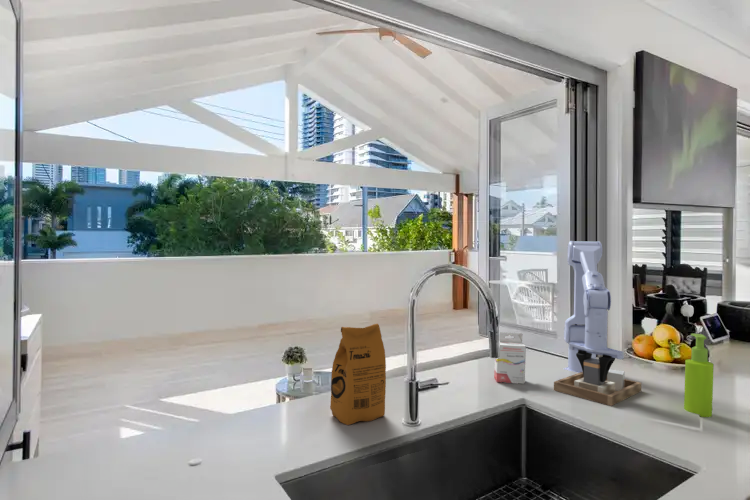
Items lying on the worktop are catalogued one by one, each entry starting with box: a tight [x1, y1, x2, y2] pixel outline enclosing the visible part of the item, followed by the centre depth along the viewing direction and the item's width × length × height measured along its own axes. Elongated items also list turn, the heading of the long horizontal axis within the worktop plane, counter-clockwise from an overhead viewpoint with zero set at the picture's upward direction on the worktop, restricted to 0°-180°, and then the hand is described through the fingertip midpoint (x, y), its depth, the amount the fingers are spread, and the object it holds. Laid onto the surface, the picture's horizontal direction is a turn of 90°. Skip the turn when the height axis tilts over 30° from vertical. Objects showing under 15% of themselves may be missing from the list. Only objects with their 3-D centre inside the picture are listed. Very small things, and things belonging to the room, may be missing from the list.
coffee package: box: [329, 323, 387, 426], centre depth 111 cm, size 10×12×22 cm
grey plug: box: [607, 368, 626, 391], centre depth 134 cm, size 4×4×5 cm
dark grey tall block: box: [584, 358, 604, 386], centre depth 130 cm, size 4×4×8 cm
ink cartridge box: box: [493, 331, 527, 384], centre depth 142 cm, size 9×5×15 cm, turn 84°
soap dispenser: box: [683, 333, 714, 418], centre depth 118 cm, size 6×7×20 cm
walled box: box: [553, 372, 642, 407], centre depth 132 cm, size 20×16×4 cm
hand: (594, 379), depth 131 cm, fingers closed on dark grey tall block, 4 cm apart
